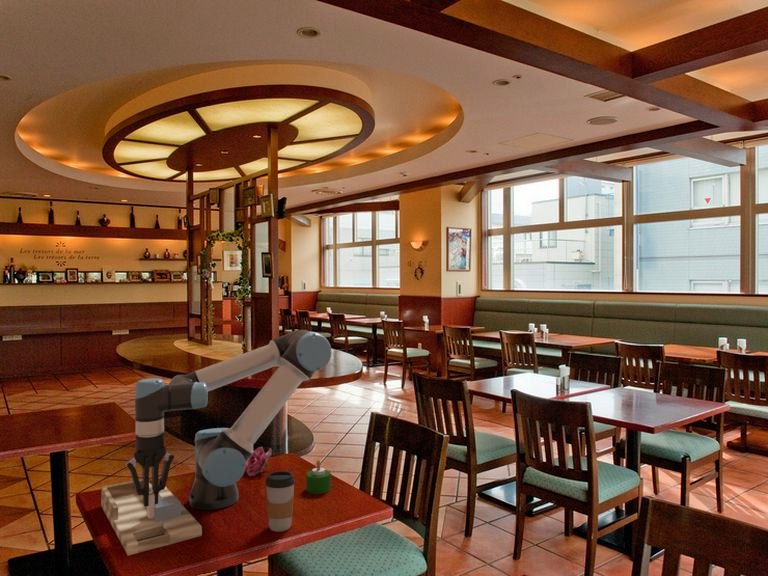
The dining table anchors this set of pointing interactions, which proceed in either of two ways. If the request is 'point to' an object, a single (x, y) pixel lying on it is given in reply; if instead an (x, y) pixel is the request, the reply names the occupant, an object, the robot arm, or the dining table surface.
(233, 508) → the dining table surface
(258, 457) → the flower
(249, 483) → the dining table surface
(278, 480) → the coffee cup
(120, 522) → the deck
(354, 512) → the dining table surface
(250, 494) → the dining table surface
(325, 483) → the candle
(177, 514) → the slate block
